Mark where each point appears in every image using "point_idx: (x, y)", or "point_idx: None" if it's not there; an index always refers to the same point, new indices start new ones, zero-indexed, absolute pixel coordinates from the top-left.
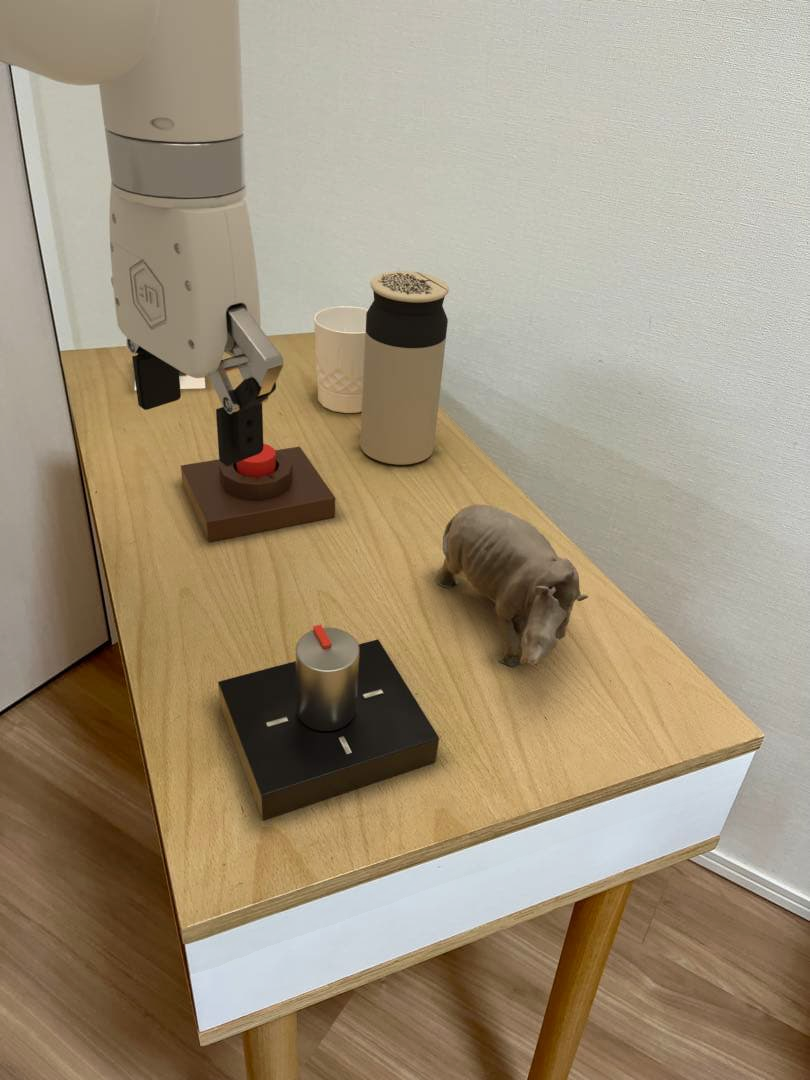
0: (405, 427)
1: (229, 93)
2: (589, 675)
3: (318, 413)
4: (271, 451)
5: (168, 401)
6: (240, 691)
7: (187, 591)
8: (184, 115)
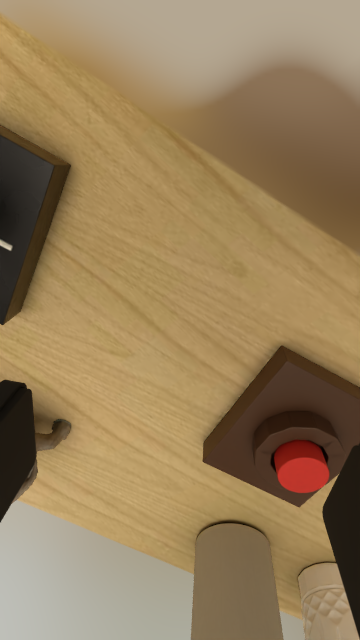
0: (206, 574)
1: None
2: None
3: None
4: (287, 485)
5: (333, 491)
6: (24, 171)
7: (238, 272)
8: None
